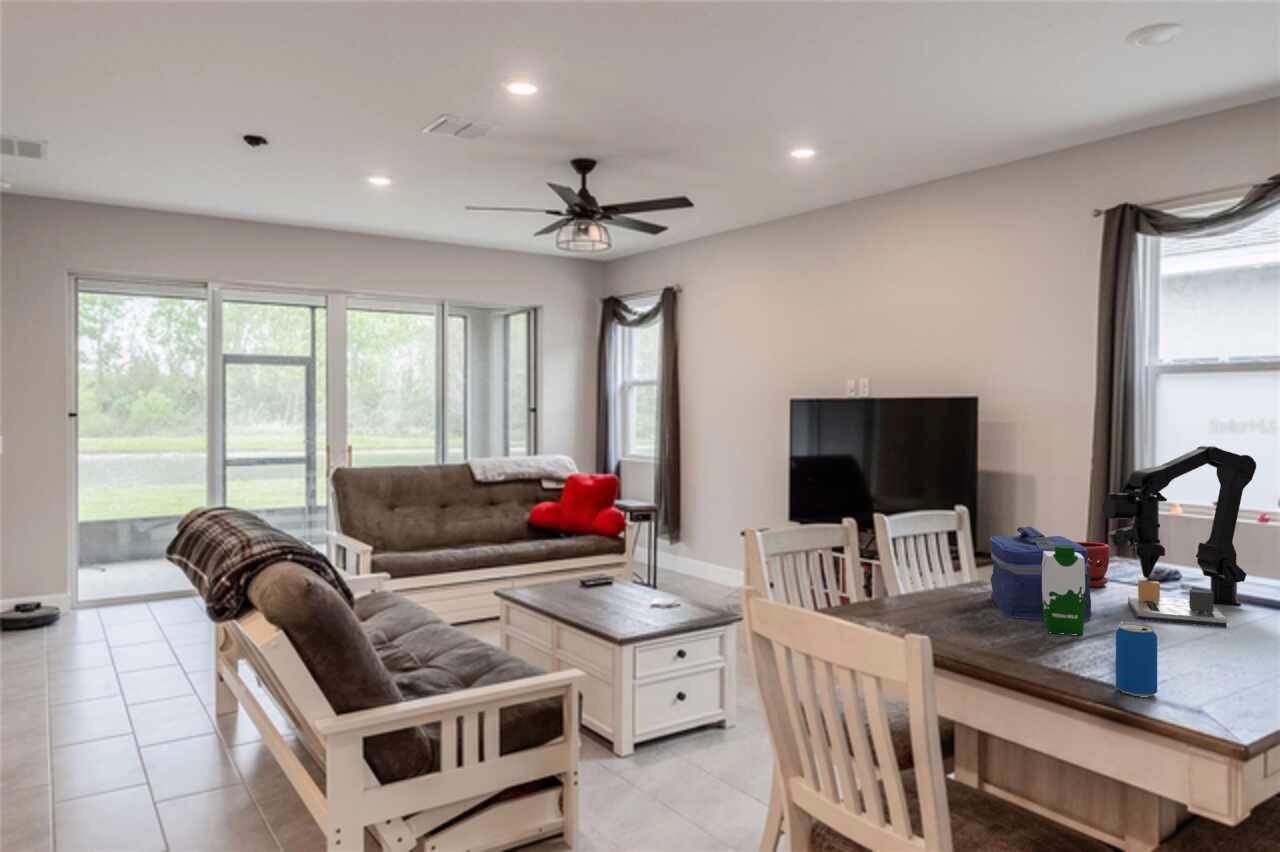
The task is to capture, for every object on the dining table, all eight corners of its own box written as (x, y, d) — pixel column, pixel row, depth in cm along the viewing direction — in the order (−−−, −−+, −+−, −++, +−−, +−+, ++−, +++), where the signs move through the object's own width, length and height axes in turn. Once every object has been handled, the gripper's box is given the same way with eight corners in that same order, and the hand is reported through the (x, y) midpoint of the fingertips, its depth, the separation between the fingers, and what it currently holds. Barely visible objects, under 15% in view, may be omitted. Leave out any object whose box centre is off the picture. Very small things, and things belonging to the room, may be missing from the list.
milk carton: (1045, 634, 189) (1045, 547, 189) (1040, 624, 198) (1039, 541, 198) (1088, 637, 187) (1087, 549, 186) (1080, 627, 195) (1080, 543, 195)
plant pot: (1110, 582, 245) (1110, 542, 245) (1108, 590, 234) (1108, 548, 234) (1061, 578, 252) (1061, 539, 252) (1056, 585, 241) (1056, 545, 241)
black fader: (1189, 613, 203) (1189, 589, 203) (1210, 614, 202) (1210, 590, 201) (1191, 615, 201) (1191, 591, 201) (1213, 617, 199) (1213, 593, 199)
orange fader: (1138, 602, 215) (1138, 580, 215) (1157, 604, 213) (1157, 581, 213) (1139, 605, 212) (1139, 582, 212) (1159, 606, 210) (1159, 583, 210)
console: (1128, 602, 220) (1128, 594, 220) (1209, 608, 212) (1209, 600, 212) (1137, 619, 201) (1137, 611, 201) (1226, 627, 194) (1226, 618, 194)
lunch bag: (982, 593, 233) (982, 521, 232) (1063, 596, 228) (1063, 522, 228) (1007, 620, 202) (1007, 537, 202) (1101, 624, 198) (1101, 539, 198)
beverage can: (1163, 700, 146) (1163, 632, 146) (1123, 697, 147) (1123, 631, 147) (1148, 688, 152) (1148, 623, 152) (1110, 686, 154) (1110, 621, 154)
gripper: (1107, 513, 229) (1107, 569, 230) (1114, 521, 212) (1114, 582, 213) (1154, 514, 225) (1154, 571, 225) (1165, 523, 208) (1165, 585, 208)
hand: (1146, 577), depth 218 cm, fingers closed
